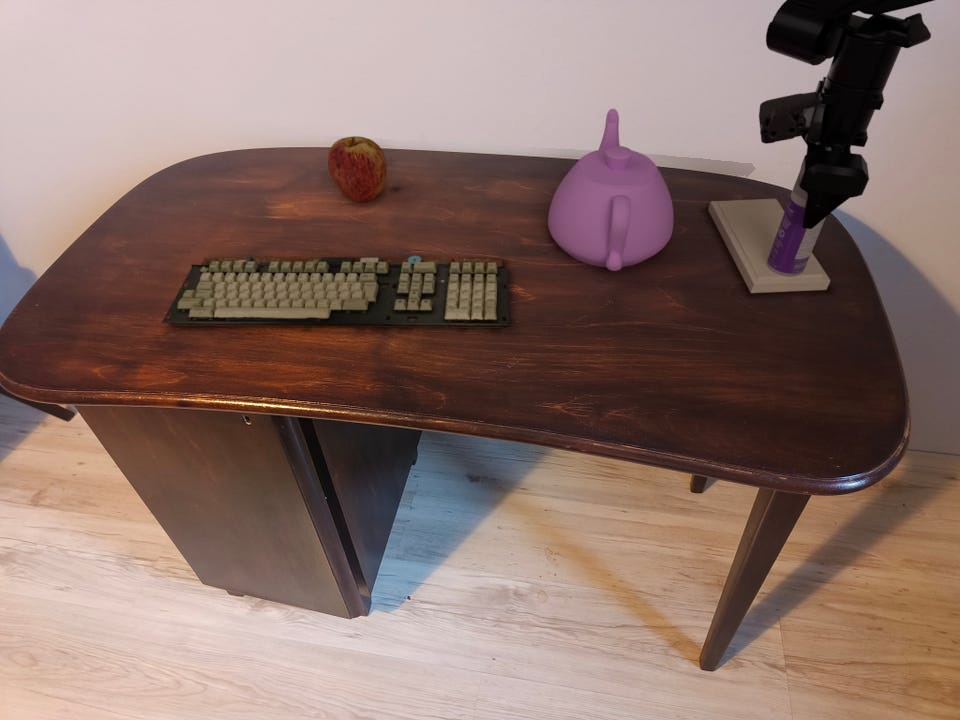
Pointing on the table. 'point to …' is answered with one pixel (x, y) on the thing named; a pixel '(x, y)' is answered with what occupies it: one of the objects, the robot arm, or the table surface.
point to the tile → (760, 245)
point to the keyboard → (344, 292)
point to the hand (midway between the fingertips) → (806, 207)
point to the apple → (357, 167)
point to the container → (793, 238)
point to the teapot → (612, 206)
